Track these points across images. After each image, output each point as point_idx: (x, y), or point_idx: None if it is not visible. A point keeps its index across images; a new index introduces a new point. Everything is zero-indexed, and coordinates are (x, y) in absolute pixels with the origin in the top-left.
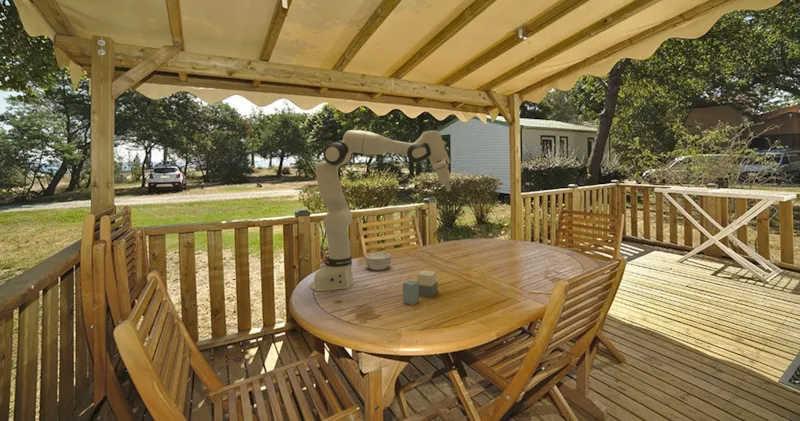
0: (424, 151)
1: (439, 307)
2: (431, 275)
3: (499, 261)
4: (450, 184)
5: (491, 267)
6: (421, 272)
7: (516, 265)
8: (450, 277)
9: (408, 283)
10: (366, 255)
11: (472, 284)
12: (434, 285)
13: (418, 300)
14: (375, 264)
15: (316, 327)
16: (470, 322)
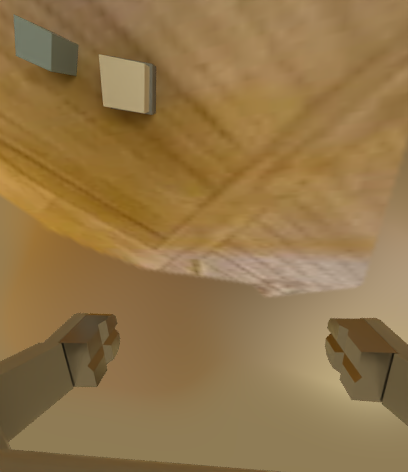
0: None
1: (70, 131)
2: (107, 104)
3: (368, 224)
4: (346, 389)
5: (328, 211)
6: (122, 64)
7: (335, 250)
8: (257, 131)
9: (22, 38)
10: None
11: (216, 182)
12: (125, 110)
13: (74, 75)
14: None
15: None
16: (41, 190)
